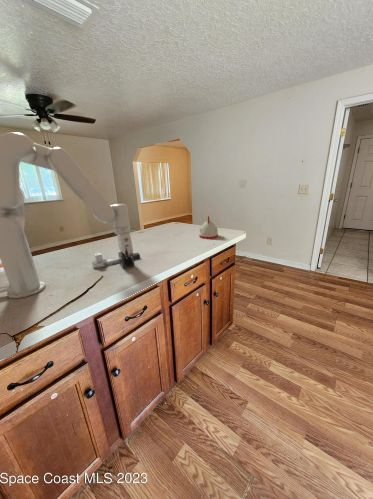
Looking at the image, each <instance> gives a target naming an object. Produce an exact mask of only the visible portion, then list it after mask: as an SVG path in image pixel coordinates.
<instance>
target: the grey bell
mask: <svg viewBox="0 0 373 499" xmlns="http://www.w3.org/2000/svg"><path fill="white" fill-rule="evenodd" d="M199 238H200V239H203V240H204V239H205V240H213V239H216V238H219V232H218V226H216V224H214V222H212V221H211V220H210V216H209V215H208V216H207V221H204V223H203V224H202V225H201V226H200V227H199Z"/></svg>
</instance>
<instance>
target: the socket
mask: <svg viewBox="0 0 373 499" xmlns="http://www.w3.org/2000/svg"><path fill="white" fill-rule="evenodd" d="M130 252H131V251H130ZM125 253H126V252H125ZM117 254H118V258H119V261H120V263H119V265H120V266H121V268H122V269H123V270H124V269H128V268H132V267H135V260H134V256H133V252H131V257H132V264H133V265H131V266H126V262H125V259H126V258H125V254H123V253H122V252H121V251H119V252H117ZM127 255H128V254H126V256H127Z"/></svg>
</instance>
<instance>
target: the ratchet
mask: <svg viewBox="0 0 373 499" xmlns="http://www.w3.org/2000/svg"><path fill="white" fill-rule="evenodd" d="M132 253H133V252H132ZM133 256H134V261H135V260H139V259H141V255H140V252H134V253H133ZM94 258H95V260H93V261H92V263H91V264H92V268H93V269H95V270H96V269H97V270H98V269H99V270H100V269H104V268H106V267H107V266H110V265H116V264H120V261H119V257H115V258H110V259H105V258H103V254H102V252H98V253H94Z"/></svg>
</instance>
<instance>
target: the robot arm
mask: <svg viewBox="0 0 373 499" xmlns="http://www.w3.org/2000/svg"><path fill="white" fill-rule="evenodd" d="M21 163H24V164H28V165H32V166H35V167H39V168H43V169H47V170H51V171H54V172H55V174H57V175H58V176H59V178H60V179H61V181H63V183H64V184H65V185H66V186H67V187H68V188H69V190H70V191H71V192H72V193H73V194H74V195H75V196H76V197H77V198H78V199H80V200H82V202H83V203H84V204H85V205H86V206H87V207H88V209H89V210H91V212H92V215H93V217H94V218H95V219H96V220H97V221H99V222H100V223H102V224H111V223H113V224H112V225H113V229H114V235H116V237H117V246H118V249H119V252H122V253H123V254H125V258H126V259H125V262H126V266H131V265H133V264H132V257H131V252H132V253H133V252H134V248H133V242H132V237H131V234H130V233H131V232H132V231H131V225H130V216H129V208H128V205H127V203H126V204H125V203H114V204H110V203H109V201H108V200H107V199H106V198H105V197H104V195H103V194H102V193H101V192H100V191H99V190H98V188H97V187H96V186H95V185H94V184H93V183H92V181H91V180H90V179H89V177H88V176H87V175H86V173H85V172H84V171H83V169H82V168H81V167H80V166H79V165H78V164H77V162H76V161H75V160H74V157H72V155H71V154H70V153H69V152H68V151H67V150H66V149H64V148H63V147H59V146H54V147H52V148H51V147H48V146H44V145H42V144H38V143H36V142H34V141H33V140H32V139H31V138H30V137H29V136H28V135H26V134H23V133H22V132H14V131H13V132H6V133H2V134H0V262H1V265H2V268H3V271H4V273H5V276H6V279H7V284H5V285H0V294H1V293H5V292H7V293H6V294H7V297H8V298H10V299H21V298H22V299H23V298H26V297H30V296H32V295H35V294H38V293H39V292H41V291H42V290H44V288H46V282H44V281H42V280H40V278H39V274H38V270H37V268H36V264H35V261H34V258H33V255H32V252H31V249H30V246H29V242H28V239H27V236H26V233H25V229H24V228H25V224H26V217H25V196H24V194H23V193H24V192H22V190H21V187H20V185H21V184H20V164H21ZM130 251H131V252H130ZM125 252H126V253H125ZM126 254H128V255H127V256H126Z"/></svg>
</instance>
